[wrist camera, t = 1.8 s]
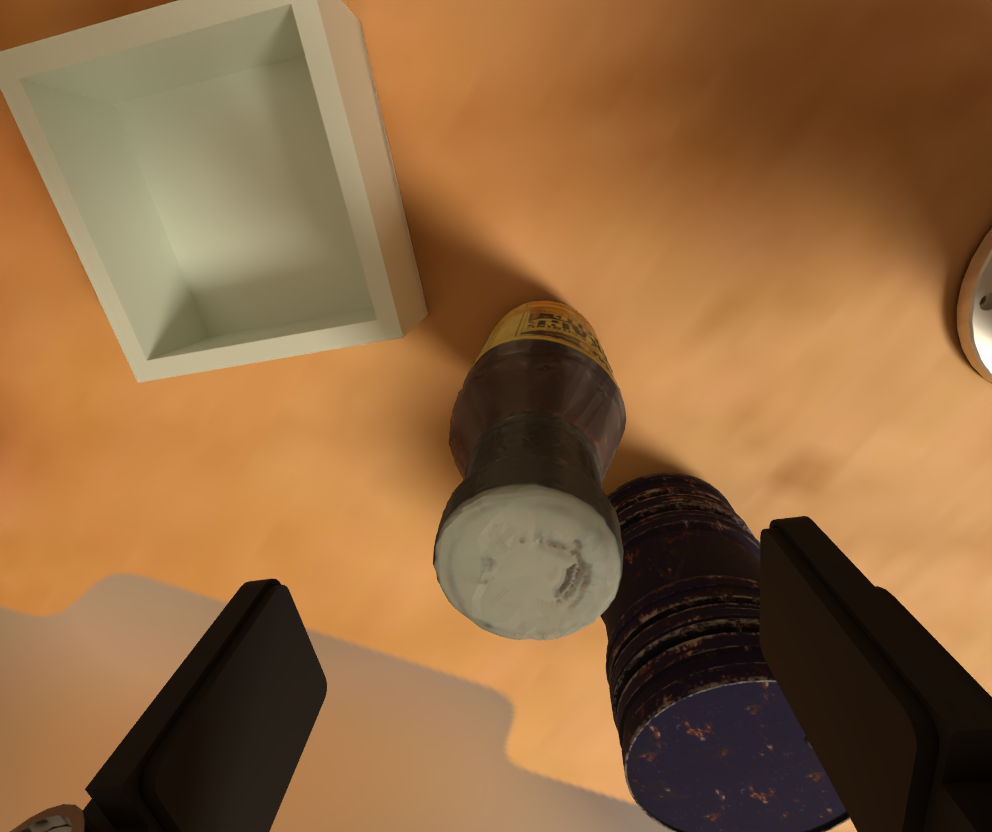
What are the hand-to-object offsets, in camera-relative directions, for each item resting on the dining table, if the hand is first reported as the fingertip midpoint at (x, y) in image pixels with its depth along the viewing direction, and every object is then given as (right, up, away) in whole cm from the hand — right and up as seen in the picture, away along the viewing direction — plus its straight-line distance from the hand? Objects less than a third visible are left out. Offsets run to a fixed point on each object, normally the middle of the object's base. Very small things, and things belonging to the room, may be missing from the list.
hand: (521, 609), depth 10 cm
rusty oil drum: (+11, -4, +23) cm, 26 cm away
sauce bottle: (+2, +8, +19) cm, 21 cm away
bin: (-12, +15, +17) cm, 26 cm away
